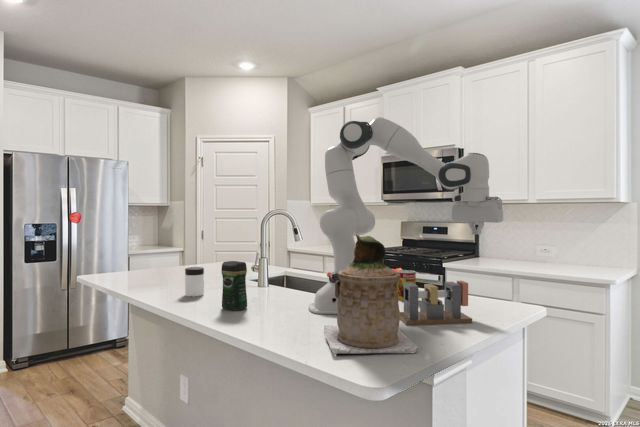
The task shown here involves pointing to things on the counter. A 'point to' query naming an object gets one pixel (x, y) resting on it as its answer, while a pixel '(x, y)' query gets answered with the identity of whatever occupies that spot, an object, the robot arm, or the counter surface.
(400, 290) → the canned food
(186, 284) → the jar
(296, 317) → the counter surface
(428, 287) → the frame
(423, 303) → the shaft rig
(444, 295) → the shaft
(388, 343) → the cookie jar
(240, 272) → the coffee jar
